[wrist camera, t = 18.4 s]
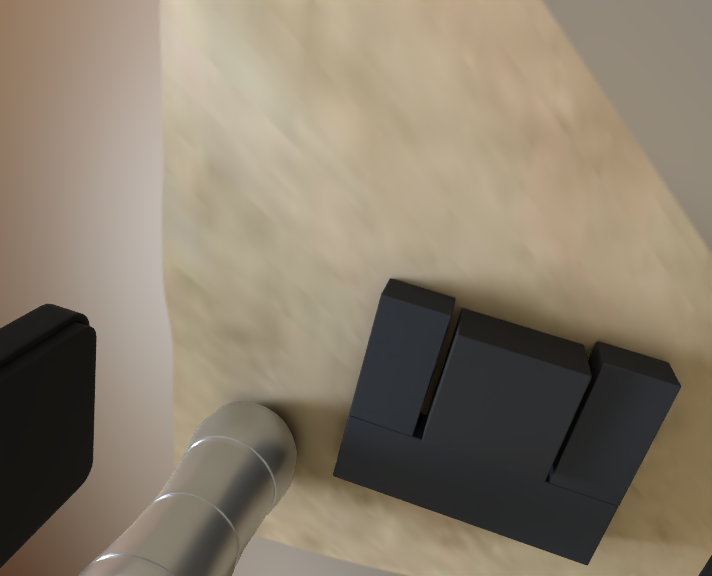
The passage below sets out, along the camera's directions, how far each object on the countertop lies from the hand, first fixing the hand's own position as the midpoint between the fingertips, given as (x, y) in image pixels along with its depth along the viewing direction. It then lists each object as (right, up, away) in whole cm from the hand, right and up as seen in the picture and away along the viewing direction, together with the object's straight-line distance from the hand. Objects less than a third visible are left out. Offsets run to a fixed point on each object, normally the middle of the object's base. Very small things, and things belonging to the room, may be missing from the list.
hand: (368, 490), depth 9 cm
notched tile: (+7, -4, +25) cm, 27 cm away
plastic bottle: (-6, -6, +30) cm, 31 cm away
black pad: (+8, -2, +24) cm, 26 cm away
